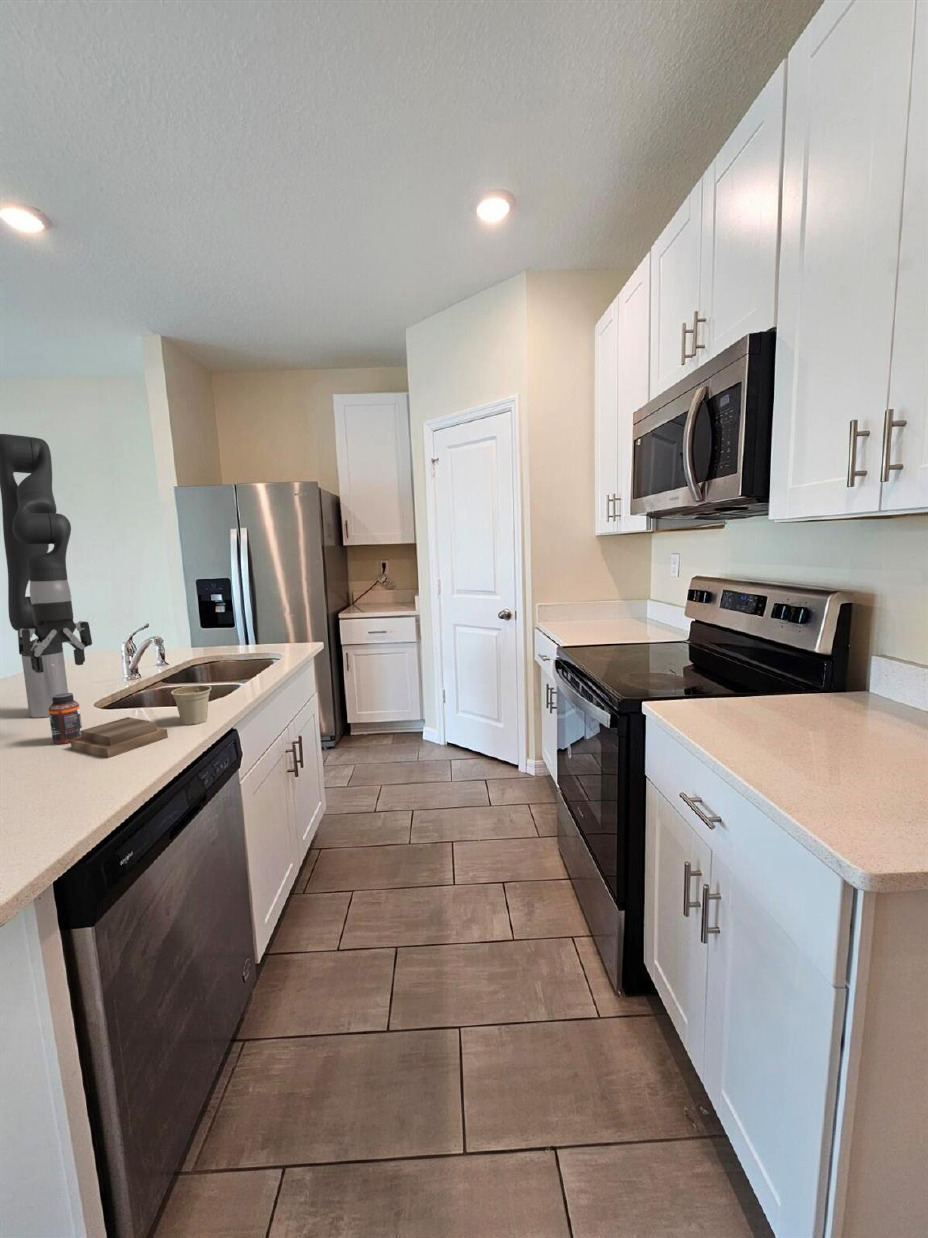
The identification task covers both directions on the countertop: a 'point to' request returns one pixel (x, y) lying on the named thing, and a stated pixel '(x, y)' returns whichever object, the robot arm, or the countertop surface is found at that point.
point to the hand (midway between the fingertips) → (59, 668)
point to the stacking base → (119, 746)
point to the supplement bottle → (65, 718)
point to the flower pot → (192, 703)
